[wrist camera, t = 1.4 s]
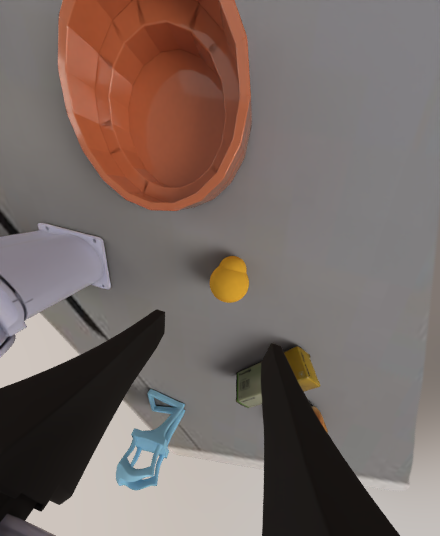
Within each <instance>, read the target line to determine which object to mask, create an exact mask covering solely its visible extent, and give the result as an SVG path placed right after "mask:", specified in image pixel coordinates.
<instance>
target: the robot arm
mask: <svg viewBox="0 0 440 536" xmlns="http://www.w3.org/2000/svg"><path fill="white" fill-rule="evenodd" d="M38 228H39V231H33V232H27V233H21V234H15V235H8V236H2V237H0V357H1V356H2V355H3V354H4V353H5V352H6V351H7V350H8V349H9V348H10V347H11V346H12V344H13V343H14V341H15V334H16V333H17V332H19V331H21V330H23V329H24V328H26V327H27V326H26V324H25V322H24V321H25V320H26V319H28V318H30V317H32V316H34V315H36V314H37V313H39V312H41V311H43V310H45V309H47V308H48V307H50V306H52V305H54V304H56V303H58V302H59V301H61V300H63V299H65V298H67V297H69V296H70V295H72V294H74V293H76V292H78V291H80V290H81V289H83V288H85V287H87V286H89V285H94V286H97V287H101V288H104V289H110V288H111V283H110V277H109V271H108V265H107V259H106V253H105V247H104V241H103V239H102V238H100V237H97V236H93V235H89V234H85V233H81V232H77V231H73V230H69V229H65V228H62V227H58V226H54V225H50V224H46V223H38ZM164 330H165V312H163V311H160V310H155V311H153V312H152V313H150V314H149V315H148V316H146V317H145V318H143V319H142V320H140V321H139V322H137V323H136V324H134V325H132V326H131V327H129V328H128V329H126V330H125V331H123V332H121V333H120V334H118V335H116V336H115V337H113V338H111V339H109V340H108V341H106V342H104V343H102V344H101V345H99V346H97V347H95V348H93V349H91V350H89V351H87V352H85V353H83V354H81V355H79V356H77V357H75V358H73V359H71V360H69V361H67V362H65V363H62V364H60V365H58V366H56V367H53V368H51V369H49V370H46V371H44V372H41V373H39V374H36V375H34V376H32V377H29V378H27V379H24V380H22V381H19V382H16V383H14V384H11V385H8V386H5V387H3V388H0V536H55V535H53V534H51V533H49V532H47V531H45V530H43V529H41V528H38V527H37V526H35V525H32V524H30V523H28V522H26V521H25V520H26V518H27V517H28V516H29V514H30V513H31V511H32V510H33V509H37V510H39V511H42V510H43V509H44V508H45V506H46V505H47V503H48V502H49V500H50V501H52V502H54V503H56V504H59V505H60V504H62V503H63V502H64V501H66V500H67V499H69V498H70V497H71V496H72V494H73V493H74V490H75V488H76V486H77V484H78V482H79V480H80V479H81V477H82V475H83V473H84V471H85V469H86V467H87V465H88V463H89V461H90V459H91V457H92V455H93V453H94V451H95V449H96V447H97V446H98V444H99V442H100V440H101V438H102V436H103V434H104V432H105V430H106V429H107V427H108V425H109V423H110V421H111V420H112V418H113V416H114V414H115V412H116V411H117V409H118V407H119V405H120V403H121V402H122V400H123V398H124V397H125V395H126V393H127V391H128V390H129V388H130V386H131V385H132V383H133V382H134V380H135V379H136V377H137V376H138V374H139V373H140V371H141V370H142V368H143V367H144V366H145V364H146V363H147V361H148V360H149V358H150V357H151V355H152V354H153V352H154V351H155V349H156V348H157V346H158V344H159V342H160V340H161V338H162V337H163V335H164ZM261 394H262V408H263V422H264V500H263V529H262V536H400V535H399V534H398V532H397V531H396V530H395V528H394V527H393V526H392V524H391V523H390V522H389V520H388V519H387V518H386V516H385V515H384V514H383V512H382V511H381V510H380V509H379V507H378V506H377V504H376V503H375V502H374V500H373V499H372V498H371V496H370V495H369V494H368V492H367V491H366V489H365V488H364V486H363V485H362V484H361V482H360V481H359V479H358V478H357V476H356V475H355V474H354V472H353V471H352V469H351V468H350V466H349V465H348V463H347V462H346V461H345V459H344V458H343V456H342V455H341V453H340V452H339V450H338V449H337V447H336V446H335V444H334V443H333V441H332V440H331V438H330V436H329V435H328V433H327V432H326V430H325V428H324V427H323V425H322V424H321V422H320V420H319V419H318V417H317V415H316V413H315V412H314V410H313V408H312V406H311V405H310V403H309V401H308V399H307V398H306V396H305V394H304V392H303V390H302V388H301V386H300V384H299V382H298V380H297V379H296V377H295V375H294V373H293V371H292V368H291V366H290V364H289V362H288V360H287V358H286V356H285V354H284V352H283V349H282V347H281V346H279V345H276V344H272V343H271V344H270V346H269V348H268V350H267V352H266V354H265V356H264V358H263V360H262V362H261Z"/></svg>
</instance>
